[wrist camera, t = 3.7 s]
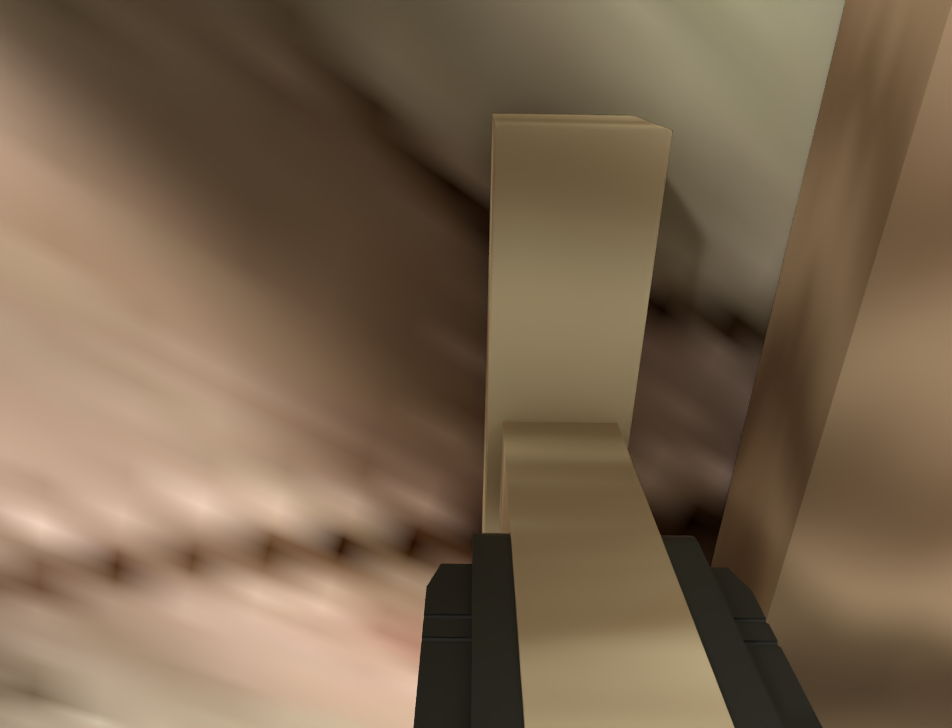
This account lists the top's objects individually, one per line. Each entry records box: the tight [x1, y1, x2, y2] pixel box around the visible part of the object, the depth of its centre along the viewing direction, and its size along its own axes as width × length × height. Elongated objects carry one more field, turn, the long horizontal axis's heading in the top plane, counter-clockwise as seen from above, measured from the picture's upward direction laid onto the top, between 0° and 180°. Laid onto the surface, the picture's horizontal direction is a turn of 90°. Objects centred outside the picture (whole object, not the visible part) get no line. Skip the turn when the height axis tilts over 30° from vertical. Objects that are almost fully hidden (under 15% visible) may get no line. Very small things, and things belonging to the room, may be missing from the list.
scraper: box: [482, 113, 734, 728], centre depth 10 cm, size 14×3×14 cm, turn 179°
